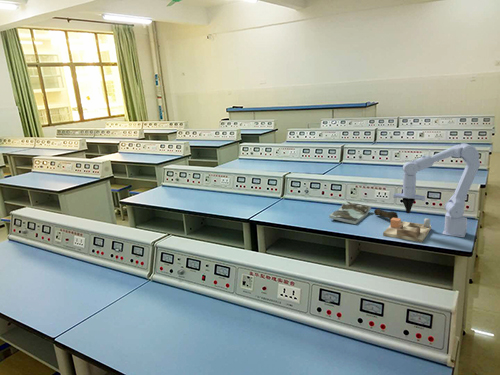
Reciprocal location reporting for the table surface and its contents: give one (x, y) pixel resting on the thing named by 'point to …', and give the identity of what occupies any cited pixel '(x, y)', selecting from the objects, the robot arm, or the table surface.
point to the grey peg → (427, 222)
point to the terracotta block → (395, 222)
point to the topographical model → (350, 212)
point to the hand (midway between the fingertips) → (408, 212)
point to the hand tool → (386, 213)
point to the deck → (408, 231)
